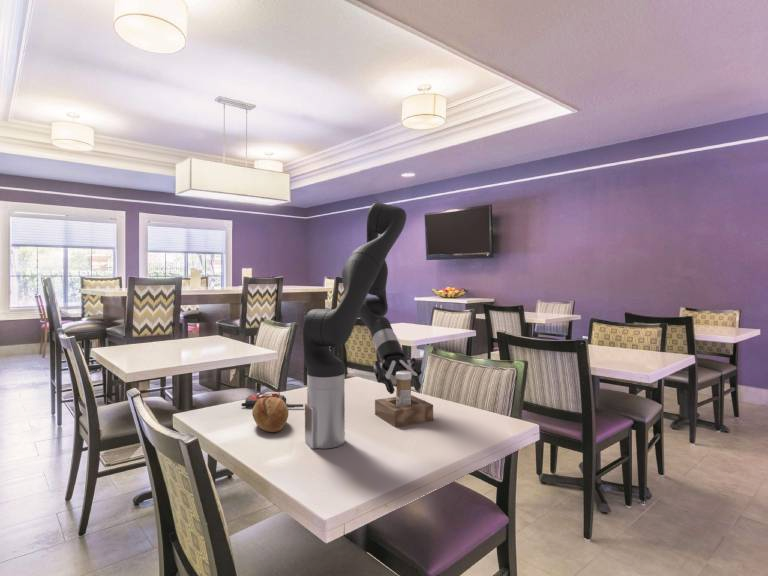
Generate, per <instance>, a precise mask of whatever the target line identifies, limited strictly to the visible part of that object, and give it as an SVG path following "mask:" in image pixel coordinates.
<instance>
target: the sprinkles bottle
mask: <svg viewBox="0 0 768 576" xmlns="http://www.w3.org/2000/svg"><path fill="white" fill-rule="evenodd" d="M411 375H412V374H411V372H409V371H407V370H405V371H398V372H396V375H395V379H396V388H395V390H396V391H395V392H396V396H395V397H396V406H398V407H401V406H407V405H411V395H412V386H411V383H412V380H411Z"/></svg>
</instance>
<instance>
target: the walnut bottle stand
mask: <svg viewBox="0 0 768 576" xmlns="http://www.w3.org/2000/svg"><path fill="white" fill-rule="evenodd" d="M374 415H375V416H376V417H378V418H380V419H381V420H383V421H385V422H386V423H387V424H389V425H391V426H392V427H394V428H395V427H400V426H402V427H403V426H407V425H413V424H419V423H426V422H432V421H434V405H433V404H432V403H431V402H428V401H426V400H423V399H421V398H419V397H417V396H415V395H413V394H411V405H407V406H401V407H398V406H396V396H393V397H385V398H384V397H383V398H379V399H378V398H377V399H375V400H374Z"/></svg>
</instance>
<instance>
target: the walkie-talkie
mask: <svg viewBox="0 0 768 576" xmlns="http://www.w3.org/2000/svg"><path fill="white" fill-rule="evenodd" d="M265 397H267V398H269V397H277V398H281V399H282V400H283V401H284V402H285V404H286V406H287V408H288V409H292V408H293V409H294V408H304V404H303V403H299V404H298V403H296V404H293V403H289V404H287V397H285V395H283V394H281V393H280V392H279V391H266V392H265V393H264V394H260V393H259V392H258V393H256V394H255V395H254V394H253V395H252V394H251V395H248V396H247V397H246V398H245V399H244V402H243V403H241V406H242V407H246V409H253V407H254V405H255V403H256V402H257V401H258V400H259V399H261V398H265Z"/></svg>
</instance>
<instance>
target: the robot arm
mask: <svg viewBox="0 0 768 576" xmlns="http://www.w3.org/2000/svg"><path fill="white" fill-rule="evenodd" d="M406 221H407V212H406V210H405V209H403V208H402V207H399V206H396V205H391V204H387V203H383V202H374V203H373V204H371V206H370V208H369V210H368V213H367V217H366V243H364V244H362V245H360V246H359V247H357V248H355V249H354V250H353V252H352V253H351V254H350V256H349V257H348V259H347V261H346V262H345V264H344V266H343V268H342V271H341V281H342V286H343V291H344V292H343V296H342V298H341V300H340V302H339V304H338V305H337V306H336V308H334V309H331V308H328V309H327V308H314V309H311V310H309V311H308V312H307V313H306V314H305V316H304V321H303V324H302V325H303V326H302V340H303V341H302V342H303V343H302V345H303V359H304V361H303V362H304V364H305V367H306V377H307V378H306V379H307V381H306V384H307V386H306V387H307V389H306V390H307V401H306V403H305V404H304V442H305V443H306V444H307V445H308V446H309V447H310V448H311V449H333V448H338V447H340V446H342V445H344V443H345V441H346V431H345V429H346V428H345V423H346V422H345V421H346V420H345V417H346V416H345V413H346V408H345V407H346V405H345V401H346V400H345V397H346V396H345V395H346V393H345V389H346V388H345V383H346V382H345V378H346V377H345V376H346V375H345V369H346V368H345V362H344V361H343V360H342V359H340V358H338V357H337V356H336V355H334V354H333V353H332V351H331V349H330V348H339V347H342V346H344V345H345V344H347V342H348V341H349V339H350V337H351V335H352V332H353V331H354V328H355V325H356V322H357V321H358V317H359V319H360V320H361V321H362V322H363V324H364V326H366V327H367V329H368V330H369V332H370V335H371V338H372V340H373V345H374V348H375V351H376V353H377V355H378V359H379V360H380V361H378V360H376V361H375V362H374V364H373V366H372V368H373V372H374V375H375V379H376V382H377V383H383V384H384V385H385V389H386V391H387V392H388V393H389V394H390V395H392V394H393V395H394V392H396V391H395V390H396V388H395V387H394V383H393V382H392V380H391V378H390V377H391V376H395V377H396V372H398V371H409V372H411V383H412V385H413V388H414V390H415V391H419V390H420V388H421V383H420V380H419V378H420V376H421V375H422V373H423V372H422V370H421V368H420V365H419V364H418V362H417V360H416V358H414V357H412V358H411V359H406V357H405V354H404V351H403V348H402V347H401V344H400V342H399V339H398V337H397V335H396V334H395V332H394V330H393V327H392V325H391V322H390V321H389V319H388V317H385V316H386V314H387V313H388V311H389V307H388V305H389V304H388V299H387V291H386V290H387V289H386V287H387V284H388V283H387V282H388V275H389V272H388V271H389V269H388V264H387V261H386V258H387V256H388V254H390V251H391V249H392V247H393V246H394V245H395V243H396V241H397V240H398V238H399V237H400V235H401V233H402V232H403V229H404V228H405V225H406ZM368 294H369V295H371V297H370V296H369V297H367V296H368ZM382 369H384V370H385V371H386V373H385V375H384V373H383V371H382Z"/></svg>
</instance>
